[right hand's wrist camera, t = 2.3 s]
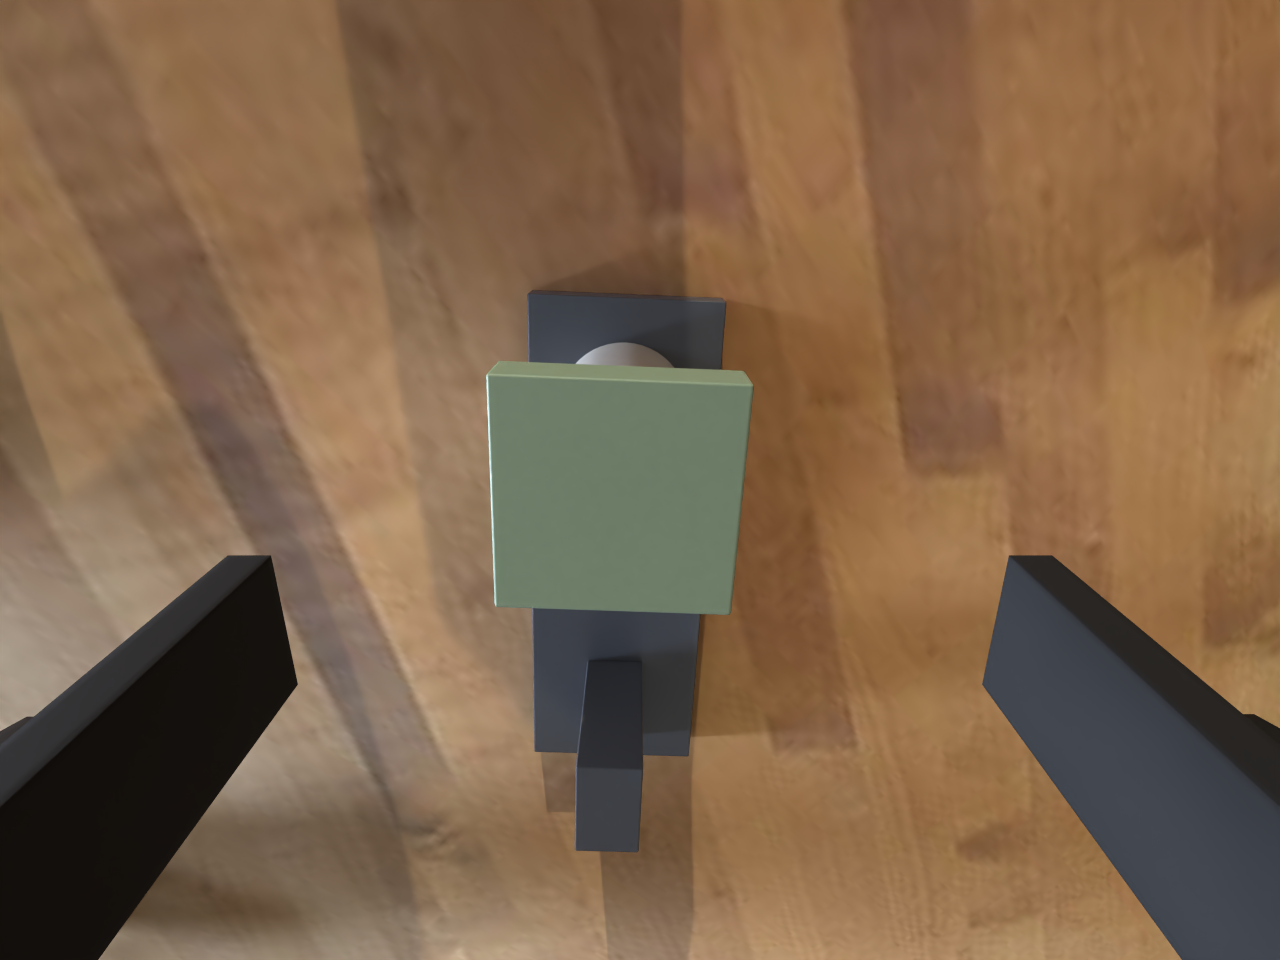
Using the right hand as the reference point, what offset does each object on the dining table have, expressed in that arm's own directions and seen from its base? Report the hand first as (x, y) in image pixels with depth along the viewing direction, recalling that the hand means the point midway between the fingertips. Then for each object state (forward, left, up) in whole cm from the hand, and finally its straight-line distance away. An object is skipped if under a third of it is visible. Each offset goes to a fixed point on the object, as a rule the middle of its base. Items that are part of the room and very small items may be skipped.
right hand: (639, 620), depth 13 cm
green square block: (-1, -2, -14) cm, 14 cm away
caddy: (-1, -10, -23) cm, 25 cm away
